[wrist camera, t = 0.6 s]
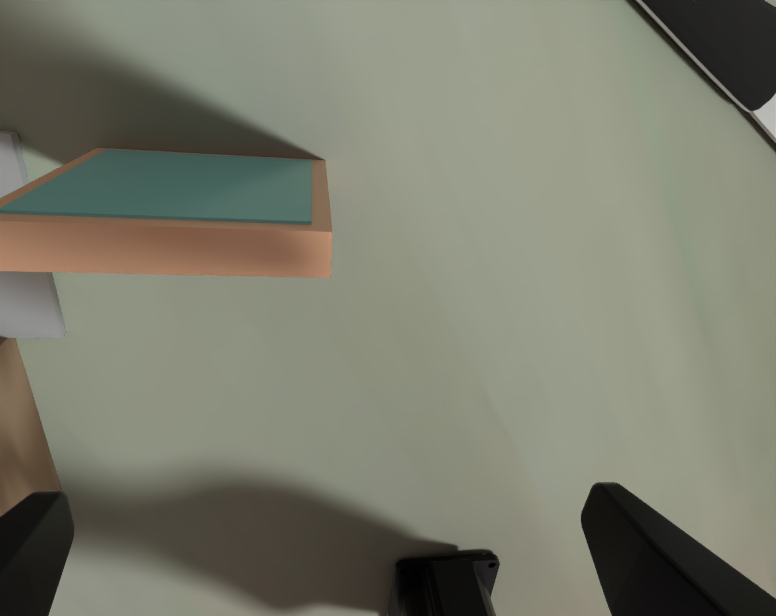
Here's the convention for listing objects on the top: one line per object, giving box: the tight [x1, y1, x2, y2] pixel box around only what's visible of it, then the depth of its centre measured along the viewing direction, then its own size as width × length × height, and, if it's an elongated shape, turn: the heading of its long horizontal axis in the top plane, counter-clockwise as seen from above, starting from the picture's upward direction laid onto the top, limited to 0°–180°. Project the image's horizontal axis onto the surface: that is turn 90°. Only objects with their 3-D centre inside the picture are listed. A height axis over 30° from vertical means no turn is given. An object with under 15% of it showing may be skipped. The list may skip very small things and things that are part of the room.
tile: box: [0, 148, 332, 278], centre depth 15 cm, size 1×8×8 cm, turn 85°
